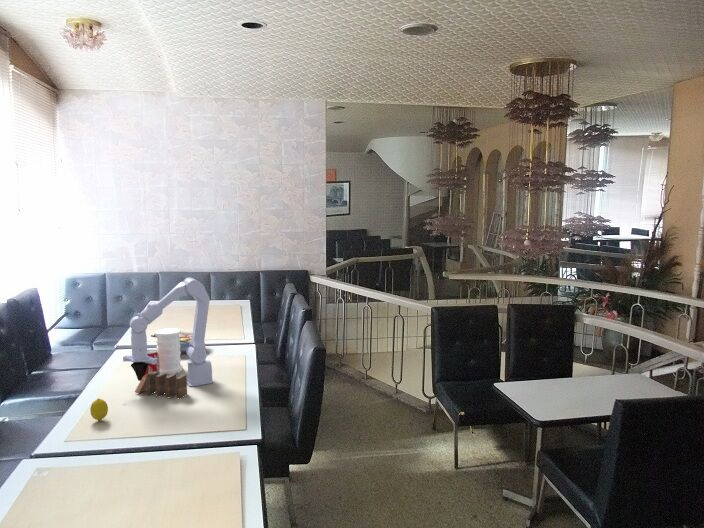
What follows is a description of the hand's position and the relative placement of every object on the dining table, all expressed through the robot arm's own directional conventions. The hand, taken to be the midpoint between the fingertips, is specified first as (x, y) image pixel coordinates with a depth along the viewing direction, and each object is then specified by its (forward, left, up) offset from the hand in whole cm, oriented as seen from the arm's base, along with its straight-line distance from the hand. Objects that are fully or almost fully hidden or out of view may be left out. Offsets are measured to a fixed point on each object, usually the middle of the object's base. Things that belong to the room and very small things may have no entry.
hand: (141, 380), depth 217 cm
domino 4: (-13, +13, -5) cm, 19 cm away
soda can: (-6, -15, -5) cm, 17 cm away
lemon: (+17, +23, -5) cm, 29 cm away
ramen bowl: (-26, -52, -5) cm, 58 cm away
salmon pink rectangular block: (0, 0, -4) cm, 5 cm away
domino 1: (-3, +3, -5) cm, 7 cm away
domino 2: (-7, +7, -5) cm, 11 cm away
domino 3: (-10, +10, -5) cm, 15 cm away
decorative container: (-15, -23, -5) cm, 28 cm away
